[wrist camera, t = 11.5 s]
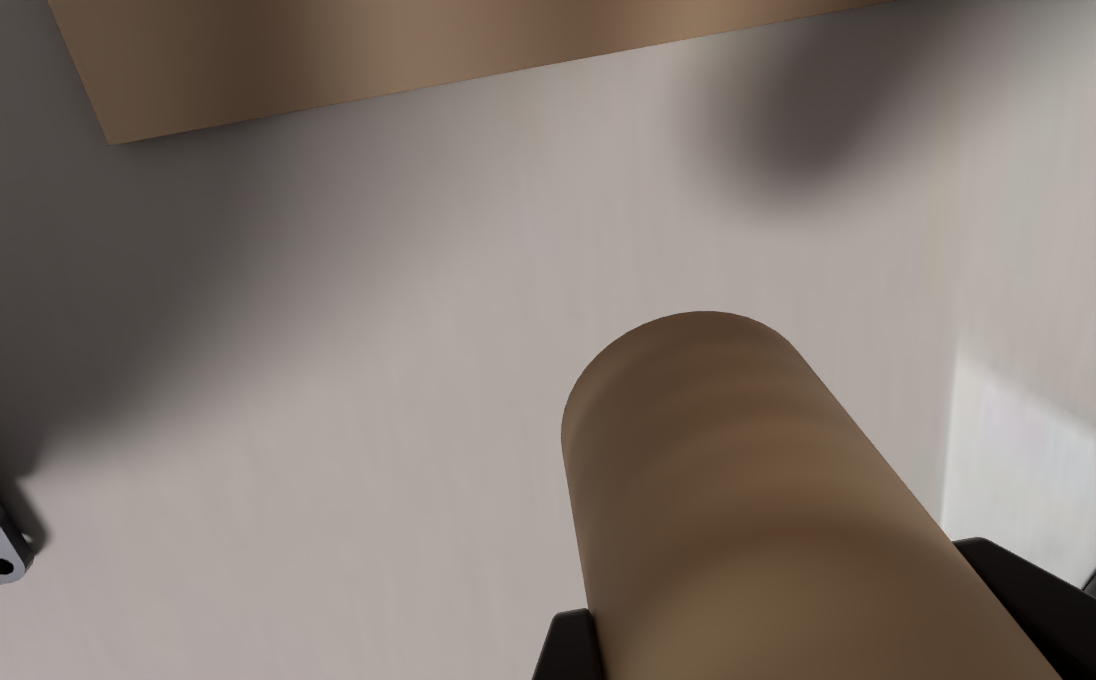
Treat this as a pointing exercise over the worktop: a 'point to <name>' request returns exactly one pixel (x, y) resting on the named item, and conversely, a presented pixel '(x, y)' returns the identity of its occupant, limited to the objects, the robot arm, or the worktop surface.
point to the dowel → (759, 525)
